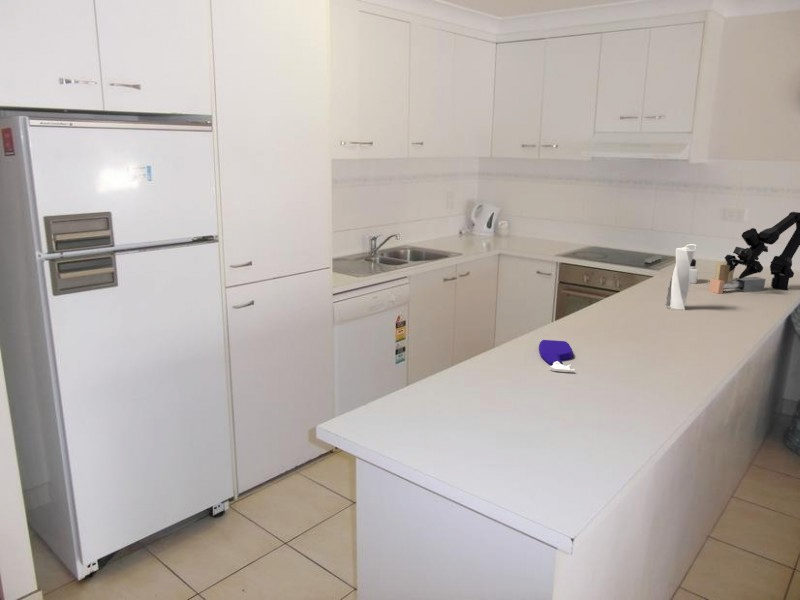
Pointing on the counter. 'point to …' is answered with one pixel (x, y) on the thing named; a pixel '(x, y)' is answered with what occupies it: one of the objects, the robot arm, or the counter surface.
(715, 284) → the socket block
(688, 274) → the skyscraper
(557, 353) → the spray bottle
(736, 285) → the brown and silver piece
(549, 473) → the counter surface
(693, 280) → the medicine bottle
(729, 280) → the coffee cup
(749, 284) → the steel block
